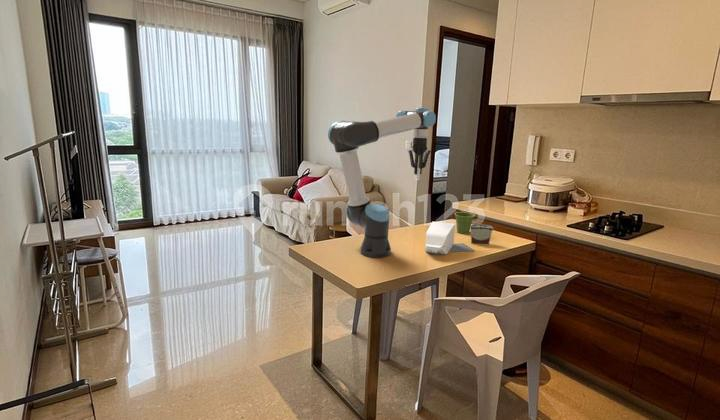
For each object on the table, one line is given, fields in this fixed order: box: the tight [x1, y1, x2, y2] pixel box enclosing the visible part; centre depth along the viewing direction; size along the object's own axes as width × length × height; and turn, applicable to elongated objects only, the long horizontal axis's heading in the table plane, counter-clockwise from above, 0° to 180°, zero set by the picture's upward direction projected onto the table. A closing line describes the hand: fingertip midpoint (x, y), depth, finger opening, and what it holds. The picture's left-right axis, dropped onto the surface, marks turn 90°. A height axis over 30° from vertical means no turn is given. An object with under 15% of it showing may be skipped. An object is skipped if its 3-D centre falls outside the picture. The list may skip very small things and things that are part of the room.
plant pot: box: [454, 211, 476, 235], centre depth 230 cm, size 12×12×11 cm
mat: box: [448, 242, 475, 253], centre depth 201 cm, size 16×12×1 cm
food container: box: [470, 223, 494, 246], centre depth 211 cm, size 12×6×10 cm, turn 84°
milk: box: [425, 221, 456, 256], centre depth 195 cm, size 12×12×26 cm
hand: (417, 180), depth 214 cm, fingers closed
